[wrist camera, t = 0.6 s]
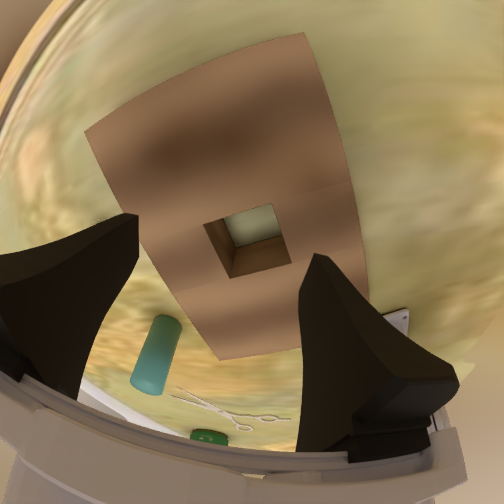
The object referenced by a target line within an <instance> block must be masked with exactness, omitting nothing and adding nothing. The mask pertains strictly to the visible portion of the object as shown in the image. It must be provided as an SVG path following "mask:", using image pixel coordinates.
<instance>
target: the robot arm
mask: <svg viewBox="0 0 504 504" xmlns="http://www.w3.org/2000/svg"><path fill="white" fill-rule="evenodd" d="M138 258H139V215H135V214H130V213H123V214H120V215H117V216H115V217H112V218H110V219H107V220H105V221H103V222H100V223H98V224H96V225H94V226H91V227H89V228H87V229H84V230H82V231H80V232H77V233H75V234H73V235H70V236H68V237H65V238H63V239H60V240H57V241H54V242H51V243H48V244H45V245H42V246H38V247H35V248H31V249H27V250H23V251H19V252H14V253H9V254H3V255H0V438H1V439H2V440H3V441H4V442H6V443H7V444H8V445H9V446H11V447H12V448H13V449H14V450H16V451H17V455H16V458H15V461H14V464H13V467H12V470H11V473H10V476H9V480H8V483H7V487H6V490H5V494H4V498H3V502H2V504H435V500H434V497H435V496H438V495H440V494H442V493H445V492H447V491H449V490H451V489H453V488H455V487H457V486H459V485H461V484H463V483H465V482H467V474H466V469H465V463H464V458H463V454H462V449H461V446H460V441H459V437H458V434H457V430H456V427H451V426H450V422H449V419H448V415H447V412H446V409H445V404H446V403H447V402H448V401H450V400H451V399H452V398H453V397H454V396H455V394H456V393H457V391H458V388H459V386H460V385H459V381H458V378H457V376H456V373H455V371H454V368H453V366H452V365H451V364H449V363H447V362H446V361H444V360H442V359H440V358H438V357H437V356H435V355H433V354H431V353H430V352H428V351H427V350H425V349H424V348H422V347H421V346H419V345H418V344H416V343H415V342H413V341H412V340H411V339H409V338H408V337H407V334H408V324H409V310H408V309H403V310H400V311H396V312H393V313H390V314H387V315H383V316H382V315H381V314H380V313H379V312H378V311H377V310H376V309H375V308H374V307H373V306H372V305H371V304H370V303H369V302H368V301H367V300H366V299H365V298H364V297H363V296H362V295H361V293H360V292H359V291H358V290H357V289H356V288H355V287H354V285H353V284H352V283H351V282H350V281H349V279H348V278H347V277H346V276H345V275H344V273H343V272H342V271H341V270H340V269H339V267H338V266H337V265H336V264H335V263H334V262H333V260H332V259H331V258H330V257H329V256H326V255H321V254H317V253H314V254H313V257H312V259H311V262H310V265H309V267H308V270H307V272H306V274H305V277H304V279H303V282H302V284H301V287H300V289H299V294H298V317H299V326H300V336H301V345H302V355H303V389H302V404H301V415H300V424H299V432H298V439H297V445H296V451H295V452H280V451H265V450H255V449H246V448H238V447H230V446H224V445H218V444H212V443H206V442H201V441H196V440H192V439H187V438H183V437H179V436H175V435H171V434H167V433H163V432H159V431H156V430H152V429H149V428H146V427H142V426H139V425H136V424H133V423H130V422H127V421H124V420H122V419H119V418H116V417H113V416H111V415H108V414H106V413H103V412H100V411H98V410H96V409H93V408H91V407H89V406H86V405H84V404H82V403H80V402H78V401H77V397H78V393H79V388H80V384H81V380H82V376H83V372H84V369H85V366H86V362H87V359H88V356H89V353H90V351H91V348H92V345H93V342H94V340H95V337H96V335H97V333H98V330H99V328H100V326H101V323H102V321H103V319H104V317H105V315H106V314H107V312H108V310H109V309H110V307H111V305H112V304H113V302H114V301H115V299H116V297H117V296H118V294H119V293H120V291H121V289H122V288H123V286H124V285H125V283H126V282H127V280H128V278H129V277H130V275H131V273H132V271H133V269H134V267H135V265H136V262H137V260H138ZM241 473H246V474H258V475H265V476H264V477H263V479H260V478H253V477H245V476H243V475H242V474H241Z"/></svg>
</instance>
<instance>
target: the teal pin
mask: <svg viewBox="0 0 504 504" xmlns="http://www.w3.org/2000/svg"><path fill="white" fill-rule="evenodd" d="M181 330H182V327H181V324H180V323H179V322H178V321H177V320H176V319H175V318H173V317H170V316H167V315H159V316H157V317H155V319H154V321H153V324H152V326H151V328H150V331H149V333H148V336H147V338H146V340H145V343H144V345H143V348H142V350H141V353H140V355H139V358H138V360H137V363H136V365H135V368H134V370H133V373H132V376H131V378H130V383H131V385H132V386H133V387H135V388H136V389H137V390H139V391H141V392H143V393H146V394H149V395H161V394H162V392H163V389H164V386H165V382H166V379H167V375H168V372H169V369H170V366H171V362H172V359H173V356H174V353H175V349H176V346H177V343H178V340H179V337H180V334H181Z"/></svg>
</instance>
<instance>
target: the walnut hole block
mask: <svg viewBox="0 0 504 504" xmlns="http://www.w3.org/2000/svg"><path fill="white" fill-rule="evenodd" d="M84 133H85V135H86V137H87V140H88V142H89V144H90V146H91V149H92V151H93V153H94V155H95V157H96V159H97V162H98V164H99V166H100V168H101V170H102V172H103V174H104V176H105V178H106V180H107V182H108V184H109V186H110V188H111V190H112V192H113V194H114V196H115V198H116V200H117V202H118V203H119V205H120V207H121V209H122V211H123V213H130V214H135V215H139V241H140V243H141V245H142V246H143V248H144V250H145V251H146V253H147V255H148V256H149V258H150V260H151V261H152V263H153V265H154V266H155V268H156V269H157V271H158V273H159V274H160V276H161V277H162V279H163V280H164V282H165V284H166V285H167V287H168V288H169V290H170V291H171V293H172V294H173V296H174V297H175V299H176V300H177V302H178V303H179V305H180V306H181V308H182V309H183V311H184V312H185V314H186V315H187V317H188V318H189V319H190V321H191V322H192V324H193V325H194V327H195V328H196V329H197V331H198V332H199V334H200V335H201V336H202V338H203V339H204V341H205V342H206V343H207V345H208V346H209V347H210V349H211V350H212V351H213V353H214V354H215V355H216V357H217V358H218V359H219V361H220V360H228V359H236V358H243V357H250V356H256V355H262V354H268V353H274V352H279V351H285V350H290V349H295V348H300V347H302V345H301V336H300V326H299V317H298V294H299V289H300V287H301V284H302V282H303V279H304V277H305V274H306V272H307V270H308V267H309V265H310V262H311V259H312V257H313V254H314V253H317V254H321V255H326V256H329V257H330V258H331V259H332V260H333V262H334V263H335V264H336V265H337V266H338V267H339V269H340V270H341V271H342V272H343V273H344V275H345V276H346V277H347V278H348V279H349V281H350V282H351V283H352V284H353V285H354V287H355V288H356V289H357V290H358V291H359V292H360V293H361V295H362V296H363V297H364V298H365V299H366V300H367V301H368V302H369V303H370V299H369V289H368V280H367V271H366V263H365V256H364V249H363V242H362V236H361V230H360V224H359V218H358V213H357V207H356V202H355V197H354V192H353V188H352V183H351V178H350V174H349V170H348V165H347V161H346V157H345V153H344V149H343V146H342V142H341V138H340V134H339V131H338V127H337V124H336V120H335V117H334V114H333V111H332V107H331V104H330V101H329V98H328V95H327V92H326V89H325V86H324V83H323V80H322V77H321V75H320V72H319V69H318V66H317V64H316V61H315V58H314V56H313V53H312V51H311V48H310V46H309V43H308V41H307V38H306V36H305V34H304V32H302V33H298V34H293V35H289V36H285V37H281V38H277V39H274V40H270V41H266V42H263V43H260V44H256V45H253V46H250V47H247V48H244V49H241V50H238V51H235V52H232V53H230V54H227V55H224V56H222V57H219V58H216V59H214V60H211V61H209V62H207V63H204V64H202V65H199V66H197V67H195V68H193V69H190V70H188V71H186V72H184V73H182V74H180V75H177V76H175V77H173V78H171V79H169V80H167V81H165V82H163V83H161V84H159V85H158V86H156V87H154V88H152V89H150V90H148V91H147V92H145V93H143V94H141V95H139V96H138V97H136V98H134V99H133V100H131V101H129V102H128V103H126V104H124V105H123V106H121V107H119V108H118V109H116V110H115V111H113V112H112V113H110V114H109V115H107V116H106V117H104V118H103V119H101V120H100V121H98V122H97V123H95V124H94V125H93V126H91V127H90V128H88V129H87V130H86V131H84ZM270 203H271V204H272V206H273V209H274V212H275V215H276V218H277V220H278V223H279V226H280V229H281V232H282V236H279V237H275V238H271V239H268V240H264V241H260V242H257V243H253V244H250V245H246V246H243V247H239V248H236V247H235V245H234V242H233V240H232V238H231V236H230V234H229V231H228V229H227V227H226V225H225V222H224V220H223V218H224V217H227V216H230V215H234V214H237V213H240V212H243V211H247V210H250V209H253V208H256V207H260V206H263V205H266V204H270Z"/></svg>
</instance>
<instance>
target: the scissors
mask: <svg viewBox="0 0 504 504" xmlns="http://www.w3.org/2000/svg"><path fill="white" fill-rule="evenodd" d="M178 388H179V387H178ZM179 389H181V388H179ZM181 390H182V391H184V392H186V393H187V394H189V395H190V396H192V397H194V398H195V399H197V400H199V401H200V402H202V403H204V404H205V405H207V406H205V405H201V404H197V403H194V402H190V401H187V400H183V399H180V398H177V397H174V398H177V399H180V400H182V401H185V402H187V403H190V404H193V405H196V406H199V407H202V408H205V409H208V410H211V411H215V412H217V413H219V414H220V415H222V416H224V417H226V418H228V419H230V420H232V423H235V424H236V428H237V429H238V430H241V431H252V430H253V427H252V426H250V425H245V424H240V423H238V422H236V421H235V420H234V418H233V417H250V418H255V419H258V420H259V421H260V422H276V421H291V419H290V418H288V419H284V418H279V417H277V416H275V415H259V416H253V415H249V414H246V415H242V414H236V413H232V412H228V411H225V410H222V409H220V408H218V407H216V406H214V405H212V404H210V403H208V402H206V401H204V400H202V399H200V398H198V397H196V396H194V395H192V394H190V393H188V392H187V391H185V390H183V389H181ZM172 397H173V396H172ZM208 406H209V407H208ZM263 417H272V418H275V419H274V420H264V419H262V418H263ZM240 426H244V427H248V428H250V429H249V430H244V429H240V428H239V427H240Z"/></svg>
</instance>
